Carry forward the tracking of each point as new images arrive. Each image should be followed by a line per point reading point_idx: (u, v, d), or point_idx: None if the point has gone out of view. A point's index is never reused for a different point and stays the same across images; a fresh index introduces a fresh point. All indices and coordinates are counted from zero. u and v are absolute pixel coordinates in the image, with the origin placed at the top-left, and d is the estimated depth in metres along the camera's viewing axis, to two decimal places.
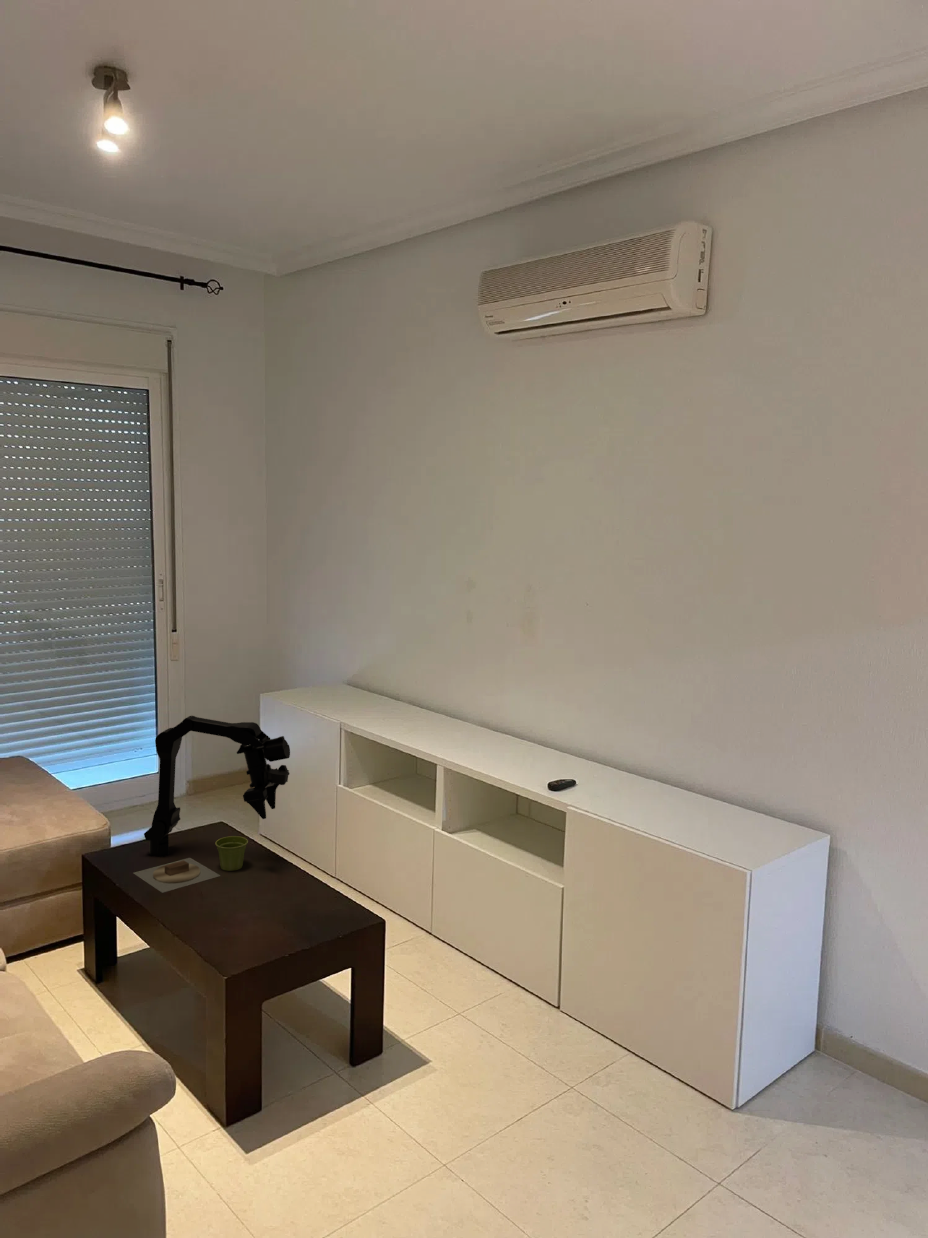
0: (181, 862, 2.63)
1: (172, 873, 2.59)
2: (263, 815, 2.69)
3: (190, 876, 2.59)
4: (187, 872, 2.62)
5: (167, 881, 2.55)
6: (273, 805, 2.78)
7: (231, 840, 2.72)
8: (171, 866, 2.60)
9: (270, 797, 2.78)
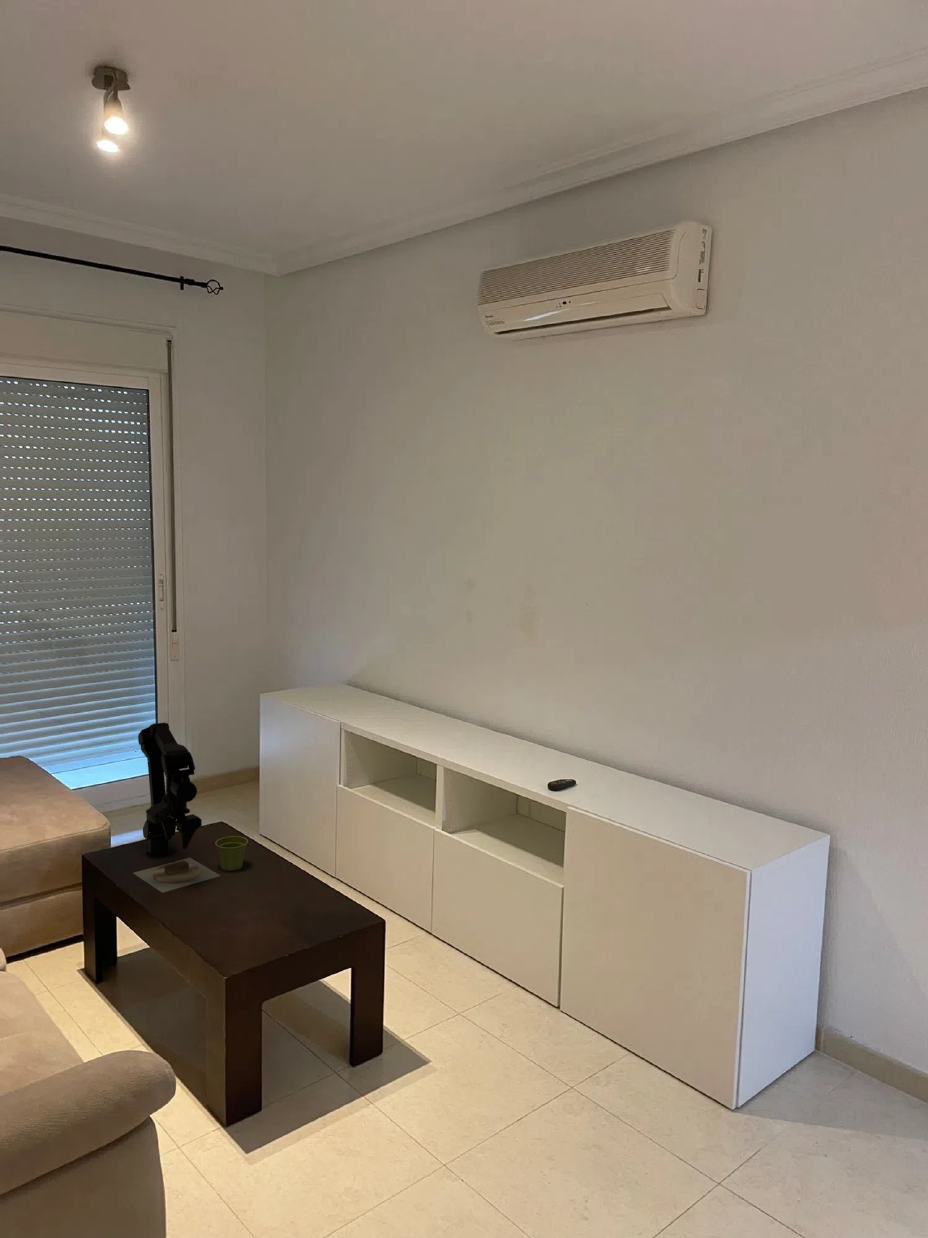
0: (181, 862, 2.63)
1: (172, 873, 2.59)
2: None
3: (190, 876, 2.59)
4: (187, 872, 2.62)
5: (167, 881, 2.55)
6: None
7: (231, 840, 2.72)
8: (171, 866, 2.60)
9: None
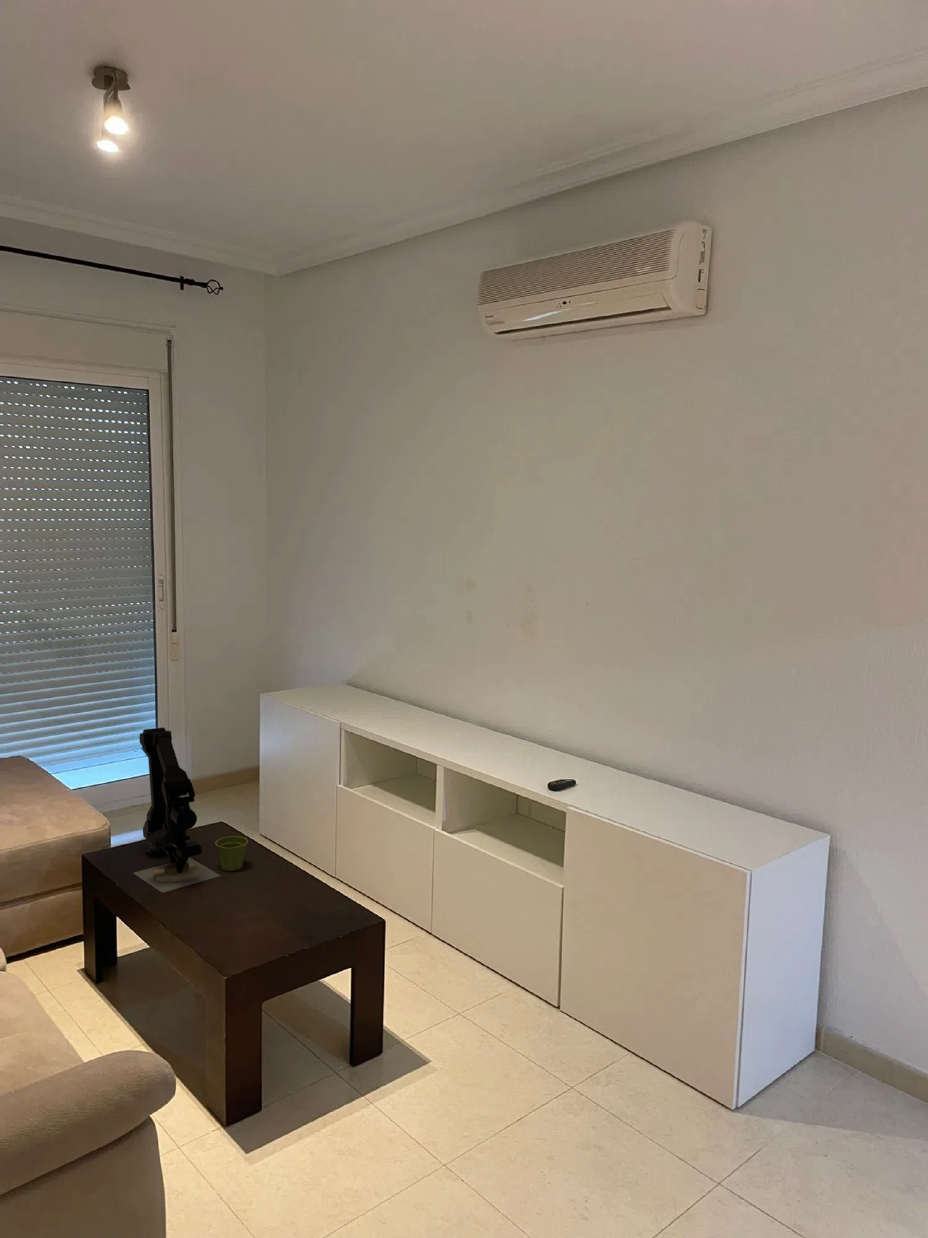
0: None
1: (172, 873, 2.59)
2: None
3: (190, 876, 2.59)
4: (187, 872, 2.62)
5: (167, 881, 2.55)
6: None
7: (231, 840, 2.72)
8: (171, 866, 2.60)
9: None
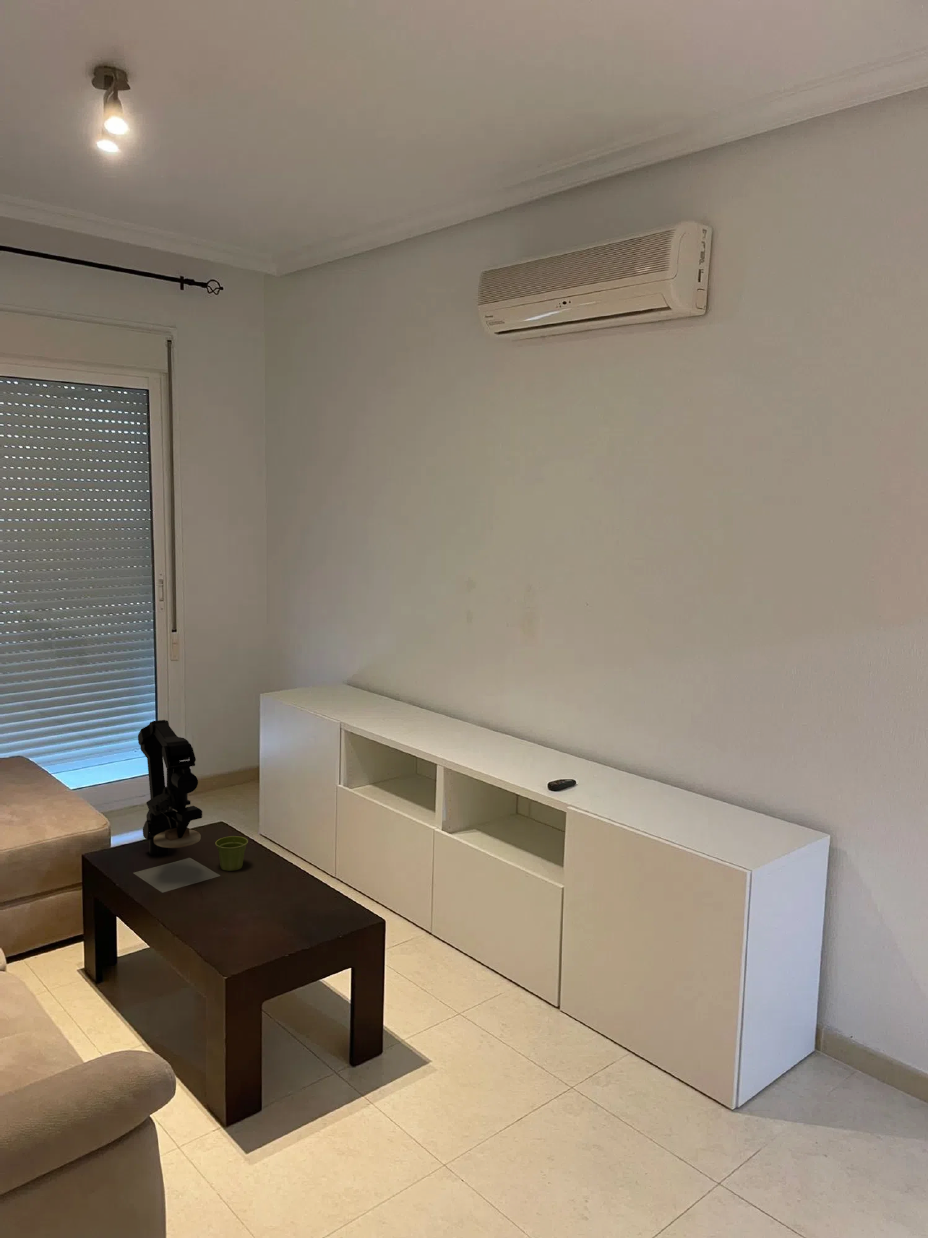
0: None
1: (173, 838, 2.58)
2: None
3: (191, 841, 2.58)
4: (188, 837, 2.60)
5: (167, 845, 2.54)
6: None
7: (231, 840, 2.72)
8: (171, 831, 2.59)
9: None
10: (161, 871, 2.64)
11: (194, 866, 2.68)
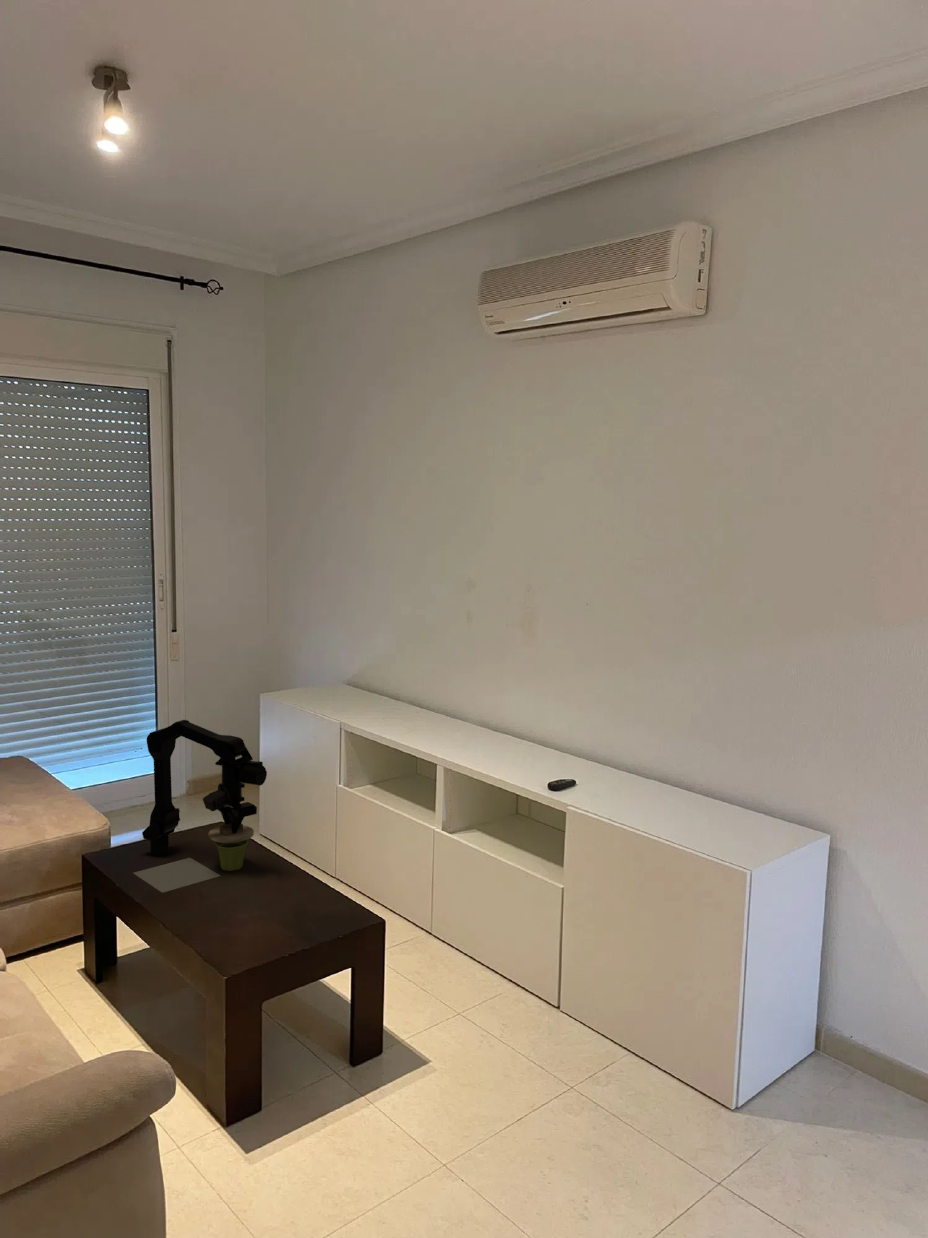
0: None
1: (227, 833, 2.65)
2: None
3: (245, 836, 2.65)
4: (241, 832, 2.67)
5: (223, 840, 2.61)
6: None
7: None
8: (226, 826, 2.66)
9: None
10: (161, 871, 2.64)
11: (194, 866, 2.68)
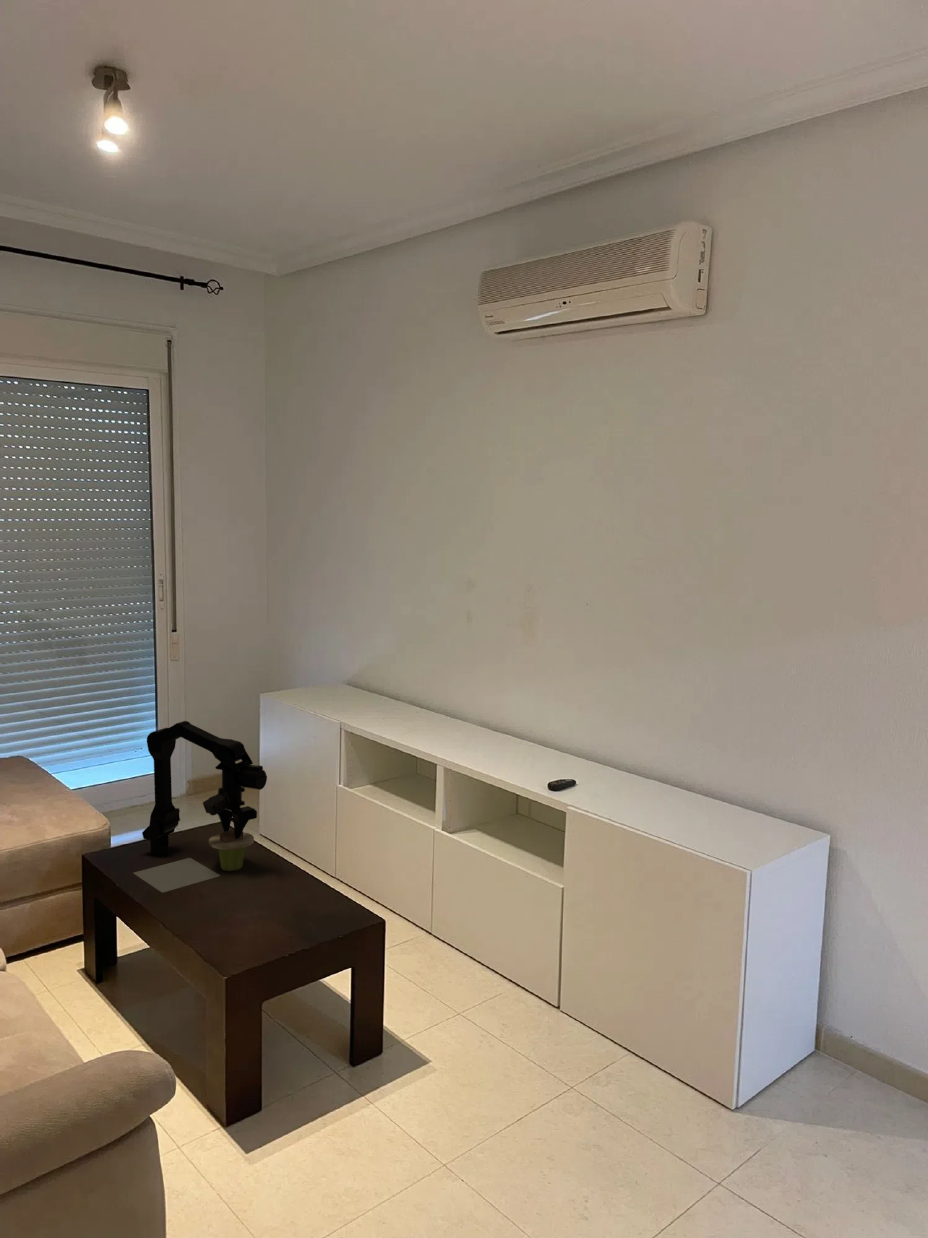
0: None
1: (227, 840, 2.65)
2: None
3: (245, 843, 2.65)
4: (242, 839, 2.68)
5: (223, 848, 2.62)
6: None
7: None
8: (226, 833, 2.67)
9: None
10: (161, 871, 2.64)
11: (194, 866, 2.68)
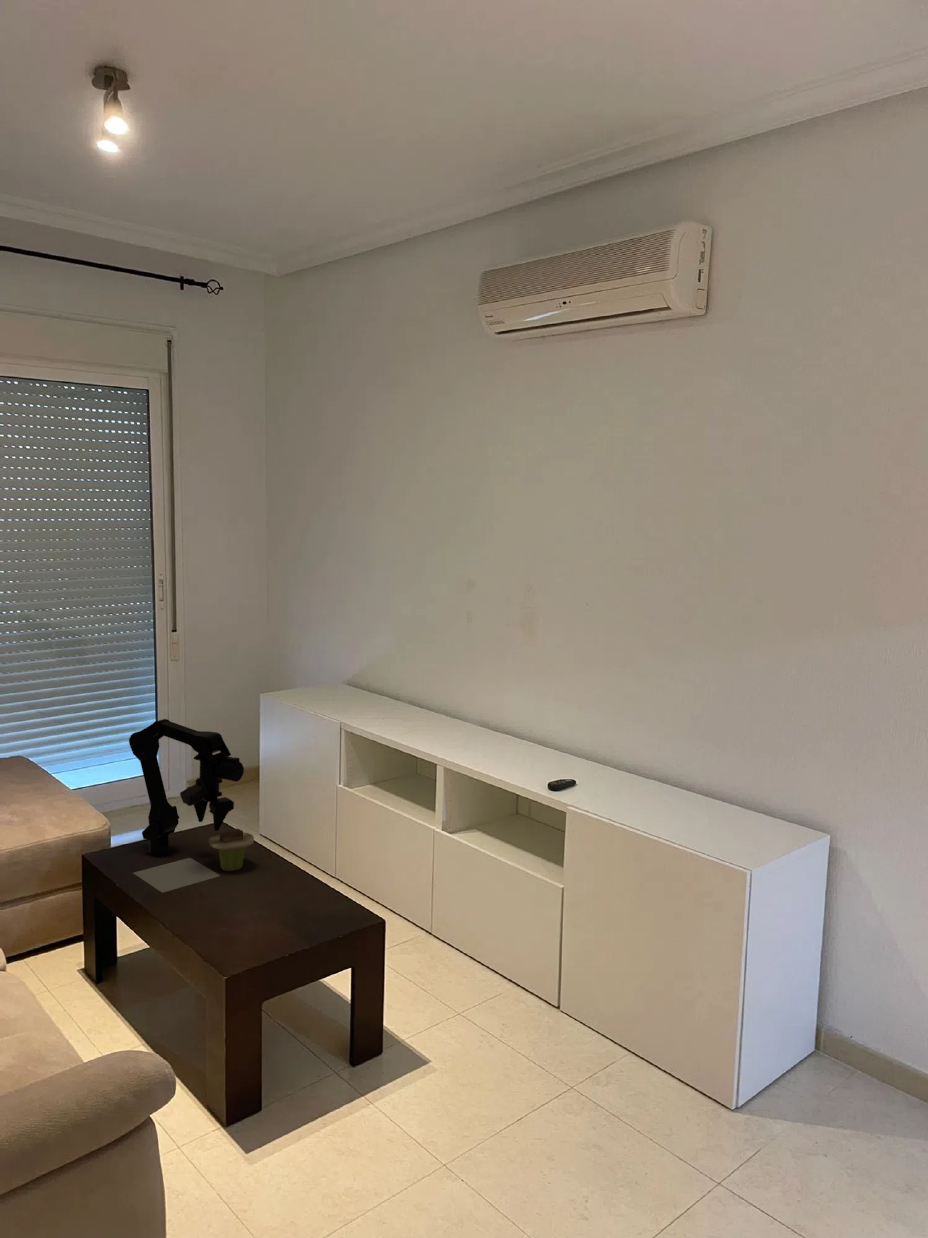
0: (235, 830, 2.69)
1: (227, 840, 2.65)
2: None
3: (245, 843, 2.65)
4: (242, 839, 2.68)
5: (223, 847, 2.62)
6: None
7: None
8: (226, 833, 2.67)
9: None
10: (161, 871, 2.64)
11: (194, 866, 2.68)
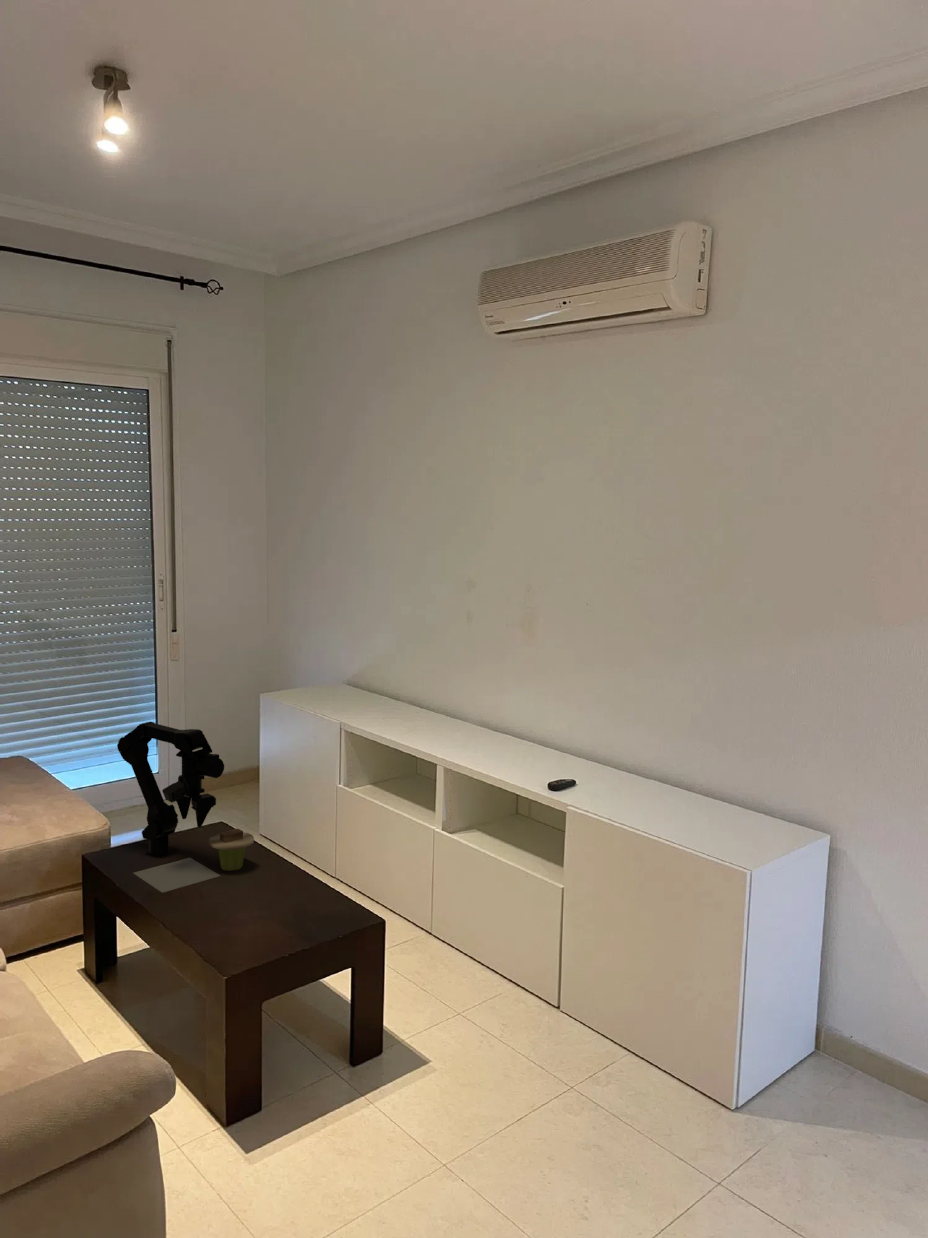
0: (235, 830, 2.69)
1: (227, 840, 2.65)
2: None
3: (245, 843, 2.65)
4: (242, 839, 2.68)
5: (223, 847, 2.62)
6: None
7: None
8: (226, 833, 2.67)
9: None
10: (161, 871, 2.64)
11: (194, 866, 2.68)
